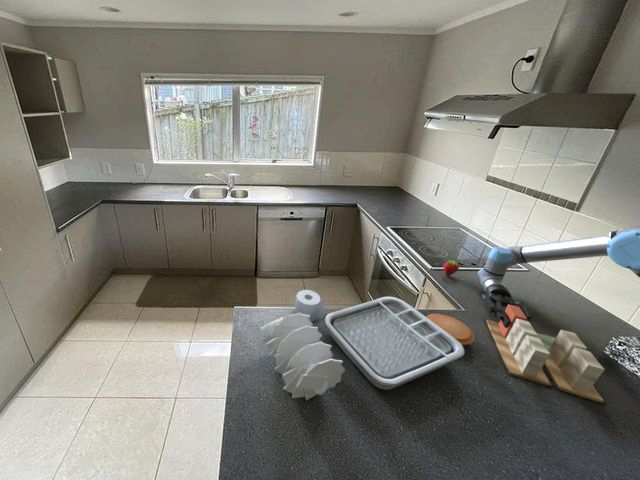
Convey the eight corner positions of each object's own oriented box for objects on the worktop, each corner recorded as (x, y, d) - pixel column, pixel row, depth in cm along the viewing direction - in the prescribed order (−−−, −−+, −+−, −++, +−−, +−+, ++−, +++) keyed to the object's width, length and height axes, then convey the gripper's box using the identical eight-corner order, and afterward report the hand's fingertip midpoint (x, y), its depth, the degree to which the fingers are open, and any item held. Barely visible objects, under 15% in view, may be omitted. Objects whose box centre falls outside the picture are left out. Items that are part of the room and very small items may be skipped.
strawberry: (458, 277, 142) (464, 260, 138) (448, 280, 139) (455, 263, 135) (446, 271, 147) (452, 254, 143) (437, 274, 144) (443, 257, 140)
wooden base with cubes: (486, 321, 112) (496, 299, 108) (517, 329, 109) (528, 307, 104) (509, 374, 90) (523, 348, 86) (549, 386, 86) (566, 360, 82)
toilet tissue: (330, 315, 113) (333, 298, 109) (303, 325, 107) (305, 307, 104) (316, 302, 120) (318, 285, 117) (290, 310, 114) (291, 293, 111)
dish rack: (316, 330, 105) (318, 313, 102) (389, 308, 118) (394, 292, 115) (378, 408, 78) (384, 389, 75) (465, 369, 91) (473, 351, 88)
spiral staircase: (291, 349, 101) (331, 413, 79) (250, 343, 93) (281, 413, 71) (314, 307, 98) (362, 362, 76) (273, 297, 90) (313, 355, 68)
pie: (477, 357, 96) (483, 346, 94) (427, 344, 100) (430, 333, 98) (464, 327, 109) (468, 317, 107) (419, 316, 114) (423, 306, 112)
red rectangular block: (498, 324, 109) (507, 304, 106) (509, 327, 108) (519, 307, 104) (504, 336, 104) (514, 315, 100) (515, 340, 102) (527, 318, 98)
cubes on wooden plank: (523, 331, 108) (535, 308, 104) (557, 340, 104) (571, 317, 100) (557, 389, 86) (575, 363, 81) (602, 403, 82) (623, 376, 78)
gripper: (519, 305, 118) (545, 343, 98) (468, 293, 124) (483, 327, 105) (526, 290, 115) (554, 327, 95) (474, 278, 121) (490, 311, 102)
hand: (517, 327), depth 100 cm, fingers open, 5 cm apart
